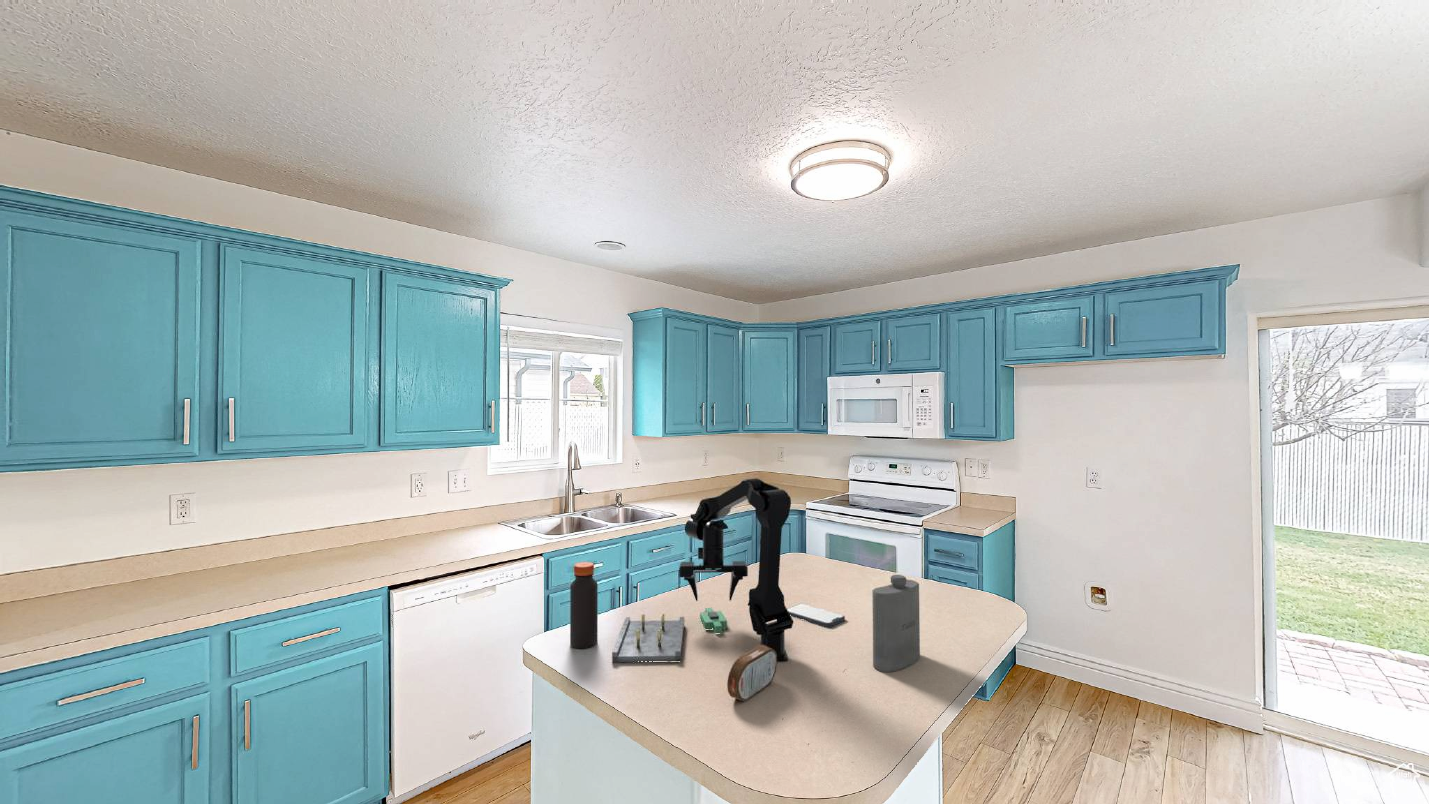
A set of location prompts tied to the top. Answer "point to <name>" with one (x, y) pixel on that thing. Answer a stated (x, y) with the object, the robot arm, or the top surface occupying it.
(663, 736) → the top surface
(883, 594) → the flask
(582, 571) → the bottle
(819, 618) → the phone case
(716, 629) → the green block piece
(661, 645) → the chassis
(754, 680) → the tin
